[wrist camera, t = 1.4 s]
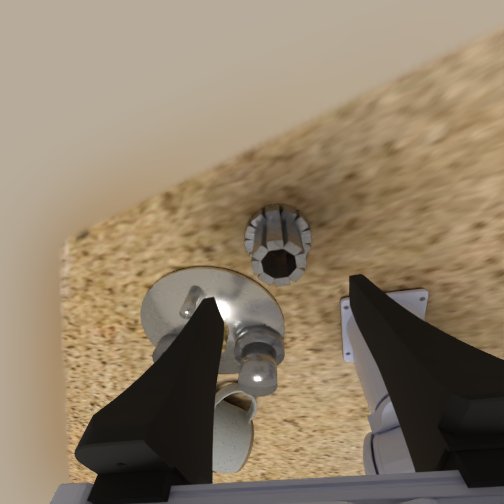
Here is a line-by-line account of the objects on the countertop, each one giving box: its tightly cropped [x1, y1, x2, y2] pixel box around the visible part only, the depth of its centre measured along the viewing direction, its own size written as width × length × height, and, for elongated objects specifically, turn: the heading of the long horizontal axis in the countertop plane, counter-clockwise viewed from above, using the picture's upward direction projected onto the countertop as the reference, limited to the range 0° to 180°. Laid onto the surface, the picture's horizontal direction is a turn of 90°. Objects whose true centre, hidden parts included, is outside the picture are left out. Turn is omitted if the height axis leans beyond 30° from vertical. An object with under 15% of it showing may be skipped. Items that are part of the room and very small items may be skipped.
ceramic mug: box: [213, 383, 257, 473], centre depth 32 cm, size 11×8×8 cm
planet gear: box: [244, 204, 312, 286], centre depth 19 cm, size 6×6×5 cm
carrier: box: [141, 266, 284, 396], centre depth 25 cm, size 16×16×6 cm
